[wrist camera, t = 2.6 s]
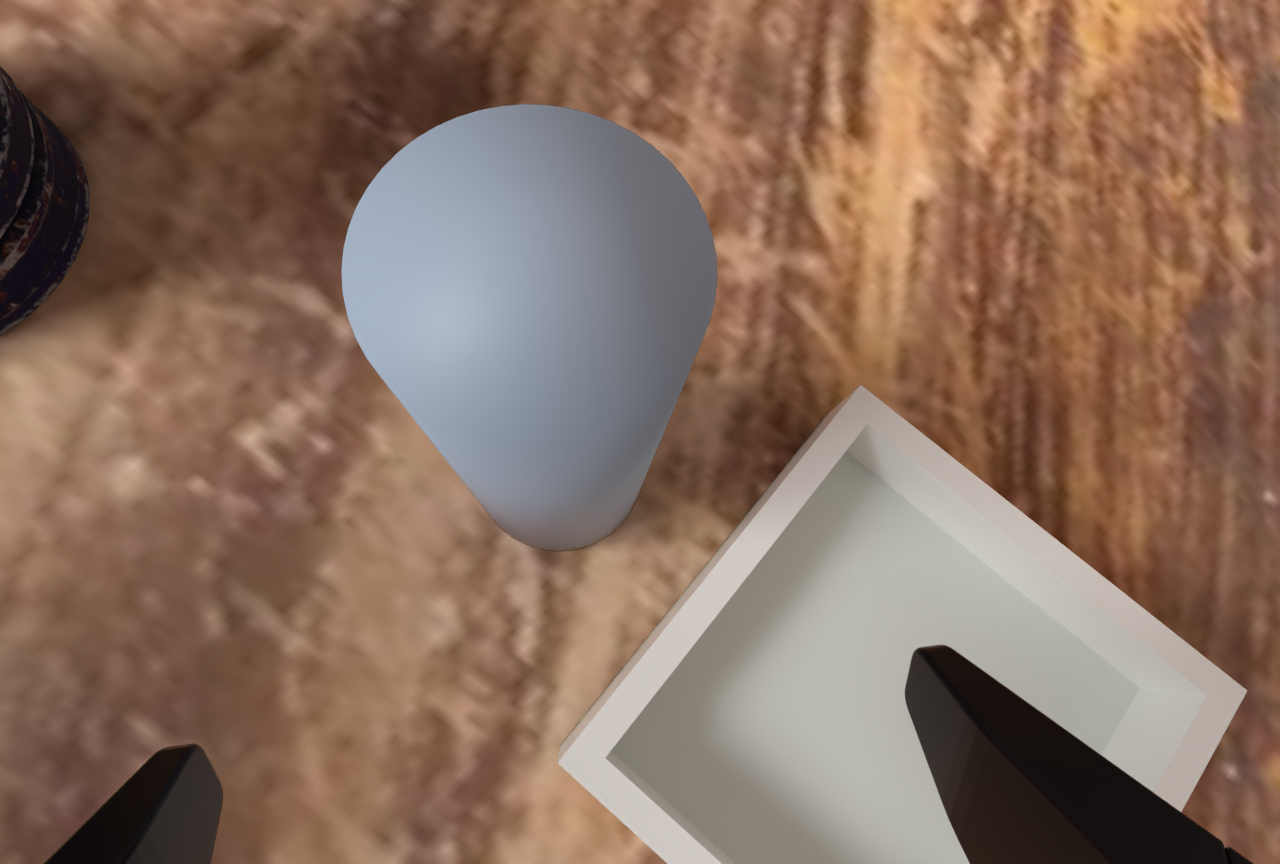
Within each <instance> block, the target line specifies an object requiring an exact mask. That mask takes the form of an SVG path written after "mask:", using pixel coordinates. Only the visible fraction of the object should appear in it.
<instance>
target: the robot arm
mask: <svg viewBox="0 0 1280 864" xmlns="http://www.w3.org/2000/svg"><path fill="white" fill-rule="evenodd" d="M905 701H906V705H907V709H908V711H909V714H910V717H911V720H912V722H913V725H914V728H915V730H916V733H917V736H918V739H919V741H920V744H921V747H922V750H923V752H924V755H925V758H926V760H927V763H928V766H929V769H930V771H931V774H932V777H933V779H934V782H935V785H936V788H937V790H938V793H939V796H940V799H941V801H942V804H943V806H944V809H945V811H946V814H947V816H948V819H949V821H950V823H951V826H952V828H953V830H954V832H955V834H956V837H957V839H958V841H959V843H960V845H961V847H962V849H963V851H964V853H965V855H966V857H967V859H968V861H969V863H970V864H1253V863H1252V862H1250V861H1249V860H1248V859H1246V858H1245V857H1243V856H1242V855H1241V854H1239V853H1238V852H1236V851H1235V850H1234V849H1232V848H1230V847H1224V844H1223V843H1222V841H1221V840H1219V839H1218V838H1216V837H1215V836H1214V835H1212V834H1211V833H1209V832H1208V831H1207V830H1205V829H1204V828H1202V827H1201V826H1200V825H1198V824H1197V823H1195V822H1194V821H1193V820H1191V819H1190V818H1188V817H1187V816H1186V815H1184V814H1183V813H1182V812H1180V811H1179V810H1177V809H1176V808H1175V807H1173V806H1172V805H1170V804H1169V803H1168V802H1166V801H1165V800H1163V799H1162V798H1161V797H1159V796H1158V795H1156V794H1155V793H1154V792H1152V791H1151V790H1149V789H1148V788H1147V787H1145V786H1144V785H1142V784H1141V783H1140V782H1138V781H1137V780H1135V779H1134V778H1133V777H1131V776H1130V775H1128V774H1127V773H1126V772H1124V771H1123V770H1121V769H1120V768H1119V767H1117V766H1116V765H1114V764H1113V763H1112V762H1110V761H1109V760H1107V759H1106V758H1105V757H1103V756H1102V755H1100V754H1099V753H1098V752H1096V751H1095V750H1094V749H1092V748H1091V747H1089V746H1088V745H1087V744H1085V743H1084V742H1082V741H1081V740H1080V739H1078V738H1077V737H1075V736H1074V735H1073V734H1071V733H1070V732H1068V731H1067V730H1066V729H1064V728H1063V727H1061V726H1060V725H1059V724H1057V723H1056V722H1054V721H1053V720H1052V719H1050V718H1049V717H1047V716H1046V715H1045V714H1043V713H1042V712H1040V711H1039V710H1038V709H1036V708H1035V707H1033V706H1032V705H1031V704H1029V703H1028V702H1026V701H1025V700H1024V699H1022V698H1021V697H1019V696H1018V695H1017V694H1015V693H1014V692H1013V691H1011V690H1010V689H1008V688H1007V687H1006V686H1004V685H1003V684H1001V683H1000V682H999V681H997V680H996V679H994V678H993V677H992V676H990V675H989V674H987V673H986V672H985V671H983V670H982V669H980V668H979V667H978V666H976V665H975V664H973V663H972V662H971V661H969V660H968V659H966V658H965V657H964V656H962V655H961V654H959V653H958V652H957V651H955V650H954V649H952V648H951V647H949V646H946V645H932V646H925V647H919V648H917V649H916V650H915V651H914V652H913V655H912V658H911V663H910V667H909V672H908V676H907V681H906V685H905ZM222 803H223V790H222V786H221V783H220V780H219V779H218V777H217V775H216V773H215V771H214V769H213V767H212V765H211V763H210V761H209V759H208V757H207V755H206V753H205V751H204V750H203V748H202V747H201V746H199V745H197V744H187V745H179V746H172V747H166V748H163V749H161V750H159V751H158V752H156V753H155V754H154V755H153V756H152V757H151V758H150V759H149V760H148V761H147V762H146V763H145V764H144V765H143V766H142V767H141V768H140V769H139V770H138V771H137V772H136V773H135V774H134V775H133V776H132V777H131V778H130V779H129V780H128V781H127V782H126V783H125V784H124V785H123V786H122V787H121V788H120V789H119V790H118V791H117V792H116V793H115V794H114V795H112V796H111V797H110V798H109V799H108V800H107V801H106V802H105V803H104V804H103V805H102V806H101V807H100V808H99V809H98V810H97V811H96V812H95V813H94V814H93V815H92V816H91V817H90V818H89V819H88V820H87V821H86V822H85V823H84V824H83V825H82V826H81V827H80V828H79V829H78V830H77V831H76V832H75V833H74V834H73V835H72V836H71V837H70V838H69V839H68V840H67V841H66V842H65V843H64V844H63V845H62V846H61V847H60V848H59V849H58V850H57V851H56V852H55V853H54V854H53V855H52V856H51V857H50V858H49V859H48V860H47V861H46V862H45V863H44V864H211V859H212V854H213V849H214V844H215V839H216V834H217V829H218V824H219V819H220V814H221V809H222Z"/></svg>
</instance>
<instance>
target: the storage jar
mask: <svg viewBox="0 0 1280 864" xmlns="http://www.w3.org/2000/svg"><path fill="white" fill-rule="evenodd" d="M88 217H89V189H88V183H87V176H86V173H85V170H84V168H83V165H82V162H81V160H80V157H79V155H78V153H77V152H76V150H75V149H74V147H73V145H72V144H71V142H70V140H69V139H68V138H67V137H66V136H65V135H64V134H63V132H62V131H61V130H60V129H59V128H58V127H57V126H56V125H55V124H54V123H53V122H52V121H51V120H50V119H49V118H48V117H47V116H46V115H45V114H44V113H43V112H41V111H40V110H39V109H37V108H36V107H35V106H33V105H32V103H31V102H30V101H29V100H28V99H27V98H26V97H25V96H24V95H23V94H22V92H21V91H20V90H19V89H18V88H17V86H16V85H15V83H14V81H13V80H12V78H11V77H10V76H9V75H8V74H7V73H6V72H5V71H4V70H3V69H2V68H1V67H0V335H1V334H3V333H5V332H6V331H8V330H9V329H10V328H12V327H13V326H15V325H16V324H18V323H19V322H21V321H22V320H23V319H25V318H26V317H27V316H28V315H30V314H31V313H32V312H33V311H34V310H35V309H36V308H37V307H38V306H39V305H41V304H42V303H43V302H44V301H45V300H46V299H47V298H48V297H49V295H50V294H51V293H52V292H53V291H54V289H55V288H56V287H57V286H58V285H59V283H60V282H61V281H62V280H63V278H64V276H65V275H66V273H67V272H68V270H69V268H70V267H71V265H72V263H73V262H74V260H75V258H76V256H77V253H78V251H79V248H80V246H81V244H82V241H83V239H84V235H85V231H86V226H87V222H88Z"/></svg>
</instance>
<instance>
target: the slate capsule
mask: <svg viewBox="0 0 1280 864" xmlns="http://www.w3.org/2000/svg"><path fill="white" fill-rule="evenodd" d="M341 271H342V289H343V297H344V302H345V306H346V311H347V316H348V319H349V321H350V324H351V327H352V330H353V332H354V335H355V338H356V340H357V341H358V343H359V345H360V347H361V349H362V350H363V352H364V354H365V356H366V358H367V359H368V361H369V362H370V363H371V365H372V366H373V367H374V369H375V370H376V371H377V373H378V374H379V375H380V377H381V378H382V379H383V381H384V382H385V383H386V384H387V386H388V387H389V388H390V389H391V391H392V392H393V393H394V395H395V396H396V397H397V398H398V400H399V401H400V402H401V403H402V405H403V406H404V407H405V409H406V410H407V411H408V412H409V414H410V415H411V416H412V417H413V419H414V420H415V421H416V422H417V424H418V425H419V426H420V428H421V429H422V430H423V431H424V433H425V434H426V435H427V436H428V438H429V439H430V440H431V442H432V443H433V444H434V445H435V447H436V448H437V449H438V450H439V452H440V453H441V454H442V456H443V457H444V458H445V459H446V461H447V462H448V463H449V464H450V466H451V467H452V468H453V470H454V471H455V472H456V473H457V475H458V476H459V477H460V478H461V480H462V481H463V482H464V484H465V485H466V486H467V487H468V489H469V490H470V491H471V492H472V494H473V495H474V496H475V498H476V499H477V500H478V501H479V503H480V504H481V505H482V506H483V508H484V509H485V510H486V512H487V513H488V514H489V515H490V517H491V518H492V519H493V520H494V522H495V523H496V524H497V525H498V526H499V527H500V528H501V529H502V530H503V531H504V532H506V533H507V534H508V535H510V536H511V537H512V538H514V539H516V540H517V541H519V542H521V543H523V544H526V545H528V546H531V547H534V548H538V549H542V550H549V551H568V550H575V549H579V548H583V547H586V546H589V545H591V544H593V543H596V542H598V541H599V540H601V539H603V538H604V537H606V536H608V535H609V534H610V533H611V532H613V531H614V530H615V529H616V528H617V527H618V526H619V525H620V524H621V523H622V522H623V521H624V519H625V518H626V517H627V515H628V514H629V513H630V511H631V509H632V507H633V505H634V504H635V501H636V499H637V497H638V494H639V492H640V489H641V487H642V484H643V482H644V480H645V477H646V475H647V472H648V470H649V468H650V465H651V463H652V460H653V458H654V456H655V453H656V451H657V448H658V446H659V443H660V441H661V439H662V436H663V434H664V431H665V429H666V427H667V424H668V422H669V419H670V417H671V415H672V412H673V410H674V407H675V405H676V402H677V400H678V398H679V395H680V393H681V390H682V388H683V386H684V383H685V381H686V378H687V376H688V374H689V371H690V369H691V366H692V364H693V361H694V359H695V357H696V354H697V352H698V349H699V347H700V345H701V342H702V340H703V337H704V335H705V332H706V330H707V327H708V325H709V322H710V319H711V315H712V311H713V306H714V302H715V297H716V286H717V261H716V252H715V247H714V242H713V236H712V233H711V230H710V227H709V224H708V221H707V218H706V215H705V213H704V211H703V209H702V207H701V205H700V203H699V201H698V199H697V197H696V195H695V193H694V192H693V190H692V189H691V187H690V186H689V184H688V183H687V181H686V180H685V178H684V177H683V176H682V175H681V173H680V172H679V171H678V170H677V169H676V168H675V167H674V166H673V164H672V163H671V162H670V161H669V160H668V159H667V158H666V157H665V156H663V155H662V154H661V153H660V152H659V151H658V150H657V149H655V148H654V147H653V146H652V145H651V144H649V143H648V142H646V141H645V140H643V139H642V138H640V137H639V136H638V135H636V134H635V133H633V132H631V131H629V130H627V129H625V128H623V127H622V126H620V125H618V124H616V123H614V122H611V121H609V120H606V119H604V118H601V117H599V116H596V115H593V114H590V113H586V112H582V111H579V110H575V109H571V108H564V107H558V106H551V105H532V104H521V105H508V106H499V107H494V108H489V109H483V110H478V111H475V112H472V113H469V114H466V115H462V116H459V117H456V118H454V119H452V120H449V121H447V122H445V123H443V124H440V125H438V126H436V127H434V128H433V129H431V130H429V131H427V132H426V133H424V134H422V135H421V136H419V137H417V138H416V139H415V140H413V141H412V142H411V143H409V144H408V145H407V146H405V147H404V148H403V149H402V150H400V151H399V152H398V153H397V154H396V155H395V156H394V157H393V158H392V159H391V160H390V161H389V162H388V163H387V164H386V165H385V166H384V167H383V168H382V169H381V170H380V172H379V173H378V174H377V175H376V177H375V178H374V179H373V181H372V182H371V183H370V185H369V186H368V188H367V189H366V191H365V193H364V195H363V196H362V198H361V200H360V201H359V203H358V205H357V207H356V210H355V212H354V215H353V217H352V220H351V222H350V225H349V228H348V232H347V236H346V240H345V244H344V249H343V260H342V270H341Z"/></svg>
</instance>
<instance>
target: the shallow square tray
mask: <svg viewBox="0 0 1280 864" xmlns="http://www.w3.org/2000/svg"><path fill="white" fill-rule="evenodd" d="M932 645H946V646H949V647H951V648H952V649H954V650H955V651H957V652H958V653H959V654H961V655H962V656H964V657H965V658H966V659H968V660H969V661H971V662H972V663H973V664H975V665H976V666H978V667H979V668H980V669H982V670H983V671H985V672H986V673H987V674H989V675H990V676H992V677H993V678H994V679H996V680H997V681H999V682H1000V683H1001V684H1003V685H1004V686H1006V687H1007V688H1008V689H1010V690H1011V691H1013V692H1014V693H1015V694H1017V695H1018V696H1019V697H1021V698H1022V699H1024V700H1025V701H1026V702H1028V703H1029V704H1031V705H1032V706H1033V707H1035V708H1036V709H1038V710H1039V711H1040V712H1042V713H1043V714H1045V715H1046V716H1047V717H1049V718H1050V719H1052V720H1053V721H1054V722H1056V723H1057V724H1059V725H1060V726H1061V727H1063V728H1064V729H1066V730H1067V731H1068V732H1070V733H1071V734H1073V735H1074V736H1075V737H1077V738H1078V739H1080V740H1081V741H1082V742H1084V743H1085V744H1087V745H1088V746H1089V747H1091V748H1092V749H1094V750H1095V751H1096V752H1098V753H1099V754H1100V755H1102V756H1103V757H1105V758H1106V759H1107V760H1109V761H1110V762H1112V763H1113V764H1114V765H1116V766H1117V767H1119V768H1120V769H1121V770H1123V771H1124V772H1126V773H1127V774H1128V775H1130V776H1131V777H1133V778H1134V779H1135V780H1137V781H1138V782H1140V783H1141V784H1142V785H1144V786H1145V787H1147V788H1148V789H1149V790H1151V791H1152V792H1154V793H1155V794H1156V795H1158V796H1159V797H1161V798H1162V799H1163V800H1165V801H1166V802H1168V803H1169V804H1170V805H1172V806H1173V807H1175V808H1176V809H1177V810H1179V811H1180V812H1182V810H1183V808H1184V806H1185V804H1186V803H1187V801H1188V799H1189V797H1190V795H1191V793H1192V792H1193V790H1194V788H1195V786H1196V784H1197V782H1198V781H1199V779H1200V777H1201V775H1202V773H1203V771H1204V770H1205V768H1206V766H1207V764H1208V762H1209V760H1210V759H1211V757H1212V755H1213V753H1214V751H1215V749H1216V748H1217V746H1218V744H1219V742H1220V740H1221V738H1222V737H1223V735H1224V733H1225V731H1226V729H1227V727H1228V726H1229V724H1230V722H1231V720H1232V718H1233V716H1234V715H1235V713H1236V711H1237V709H1238V707H1239V705H1240V704H1241V702H1242V700H1243V698H1244V696H1245V694H1246V693H1247V690H1246V689H1245V688H1243V687H1242V686H1241V685H1240V684H1238V683H1237V682H1236V681H1235V680H1233V679H1232V678H1231V677H1229V676H1228V675H1227V674H1226V673H1224V672H1223V671H1222V670H1221V669H1219V668H1218V667H1217V666H1216V665H1214V664H1213V663H1212V662H1211V661H1209V660H1208V659H1207V658H1205V657H1204V656H1203V655H1202V654H1200V653H1199V652H1198V651H1197V650H1195V649H1194V648H1193V647H1192V646H1190V645H1189V644H1188V643H1187V642H1185V641H1184V640H1183V639H1181V638H1180V637H1179V636H1178V635H1176V634H1175V633H1174V632H1173V631H1171V630H1170V629H1169V628H1168V627H1166V626H1165V625H1164V624H1163V623H1161V622H1160V621H1159V620H1157V619H1156V618H1155V617H1154V616H1152V615H1151V614H1150V613H1149V612H1147V611H1146V610H1145V609H1144V608H1142V607H1141V606H1140V605H1139V604H1137V603H1136V602H1135V601H1133V600H1132V599H1131V598H1130V597H1128V596H1127V595H1126V594H1125V593H1123V592H1122V591H1121V590H1120V589H1118V588H1117V587H1116V586H1115V585H1113V584H1112V583H1111V582H1109V581H1108V580H1107V579H1106V578H1104V577H1103V576H1102V575H1101V574H1099V573H1098V572H1097V571H1096V570H1094V569H1093V568H1092V567H1091V566H1089V565H1088V564H1087V563H1085V562H1084V561H1083V560H1082V559H1080V558H1079V557H1078V556H1077V555H1075V554H1074V553H1073V552H1072V551H1070V550H1069V549H1068V548H1067V547H1065V546H1064V545H1063V544H1061V543H1060V542H1059V541H1058V540H1056V539H1055V538H1054V537H1053V536H1051V535H1050V534H1049V533H1048V532H1046V531H1045V530H1044V529H1043V528H1041V527H1040V526H1039V525H1037V524H1036V523H1035V522H1034V521H1032V520H1031V519H1030V518H1029V517H1027V516H1026V515H1025V514H1024V513H1022V512H1021V511H1020V510H1019V509H1017V508H1016V507H1015V506H1013V505H1012V504H1011V503H1010V502H1008V501H1007V500H1006V499H1005V498H1003V497H1002V496H1001V495H1000V494H998V493H997V492H996V491H995V490H993V489H992V488H991V487H989V486H988V485H987V484H986V483H984V482H983V481H982V480H981V479H979V478H978V477H977V476H976V475H974V474H973V473H972V472H971V471H969V470H968V469H967V468H965V467H964V466H963V465H962V464H960V463H959V462H958V461H957V460H955V459H954V458H953V457H952V456H950V455H949V454H948V453H947V452H945V451H944V450H943V449H941V448H940V447H939V446H938V445H936V444H935V443H934V442H933V441H931V440H930V439H929V438H928V437H926V436H925V435H924V434H923V433H921V432H920V431H919V430H917V429H916V428H915V427H914V426H912V425H911V424H910V423H909V422H907V421H906V420H905V419H904V418H902V417H901V416H900V415H899V414H897V413H896V412H895V411H893V410H892V409H891V408H890V407H888V406H887V405H886V404H885V403H883V402H882V401H881V400H880V399H878V398H877V397H876V396H875V395H873V394H872V393H871V392H869V391H868V390H867V389H866V388H864V387H863V386H862V385H860V386H859V387H857V388H856V389H855V390H854V391H853V392H852V393H851V394H850V395H848V396H847V397H846V398H845V399H844V400H843V401H842V402H841V403H839V404H838V405H837V406H836V407H835V408H834V409H833V410H832V411H830V412H829V413H828V414H827V415H826V416H825V417H824V419H823V420H822V421H821V422H820V424H819V425H818V426H817V427H816V429H815V430H814V431H813V432H812V434H811V435H810V436H809V437H808V439H807V440H806V441H805V442H804V444H803V445H802V446H801V447H800V449H799V450H798V451H797V452H796V453H795V455H794V456H793V457H792V458H791V460H790V461H789V462H788V463H787V465H786V466H785V467H784V468H783V470H782V471H781V472H780V473H779V475H778V476H777V477H776V478H775V480H774V481H773V482H772V483H771V484H770V486H769V487H768V488H767V489H766V491H765V492H764V493H763V494H762V496H761V497H760V498H759V499H758V501H757V502H756V503H755V504H754V506H753V507H752V508H751V509H750V511H749V512H748V513H747V514H746V515H745V517H744V518H743V519H742V520H741V522H740V523H739V524H738V525H737V527H736V528H735V529H734V530H733V532H732V533H731V534H730V535H729V537H728V538H727V539H726V540H725V542H724V543H723V544H722V545H721V547H720V548H719V549H718V550H717V551H716V553H715V554H714V555H713V556H712V558H711V559H710V560H709V561H708V563H707V564H706V565H705V566H704V568H703V569H702V570H701V571H700V573H699V574H698V575H697V576H696V578H695V579H694V580H693V581H692V582H691V584H690V585H689V586H688V587H687V589H686V590H685V591H684V592H683V594H682V595H681V596H680V597H679V599H678V600H677V601H676V602H675V604H674V605H673V606H672V607H671V609H670V610H669V611H668V612H667V613H666V615H665V616H664V617H663V618H662V620H661V621H660V622H659V623H658V625H657V626H656V627H655V628H654V630H653V631H652V632H651V633H650V635H649V636H648V637H647V638H646V640H645V641H644V642H643V643H642V644H641V646H640V647H639V648H638V649H637V651H636V652H635V653H634V654H633V656H632V657H631V658H630V659H629V661H628V662H627V663H626V664H625V666H624V667H623V668H622V669H621V671H620V672H619V673H618V674H617V676H616V677H615V678H614V679H613V680H612V682H611V683H610V684H609V685H608V687H607V688H606V689H605V690H604V692H603V693H602V694H601V695H600V697H599V698H598V699H597V700H596V702H595V703H594V704H593V705H592V707H591V708H590V709H589V710H588V711H587V713H586V714H585V715H584V716H583V718H582V719H581V720H580V721H579V723H578V724H577V725H576V726H575V728H574V729H573V730H572V731H571V733H570V734H569V735H568V736H567V738H566V739H565V740H564V741H563V742H562V744H561V747H560V752H559V757H558V764H559V765H560V766H561V767H562V768H563V769H565V770H566V771H567V772H568V773H569V774H570V775H571V776H572V777H573V778H574V779H576V780H577V781H578V782H579V783H580V784H581V785H582V786H583V787H584V788H585V789H586V790H588V791H589V792H590V793H591V794H592V795H593V796H594V797H595V798H596V799H597V800H598V801H600V802H601V803H602V804H603V805H604V806H605V807H606V808H607V809H608V810H609V811H610V812H612V813H613V814H614V815H615V816H616V817H617V818H618V819H619V820H620V821H621V822H623V823H624V824H625V825H626V826H627V827H628V828H629V829H630V830H631V831H632V832H633V833H635V834H636V835H637V836H638V837H639V838H640V839H641V840H642V841H643V842H644V843H645V844H647V845H648V846H649V847H650V848H651V849H652V850H653V851H654V852H655V853H656V854H657V855H659V856H660V857H661V858H662V859H663V860H664V861H665V862H666V863H667V864H970V863H969V861H968V859H967V857H966V855H965V853H964V851H963V849H962V847H961V845H960V843H959V841H958V839H957V837H956V834H955V832H954V830H953V828H952V826H951V823H950V821H949V819H948V816H947V814H946V811H945V809H944V806H943V804H942V801H941V799H940V796H939V793H938V790H937V788H936V785H935V782H934V779H933V777H932V774H931V771H930V769H929V766H928V763H927V760H926V758H925V755H924V752H923V750H922V747H921V744H920V741H919V739H918V736H917V733H916V730H915V728H914V725H913V722H912V720H911V717H910V714H909V711H908V709H907V705H906V701H905V685H906V681H907V676H908V672H909V667H910V663H911V658H912V655H913V652H914V651H915V650H916V649H917V648H919V647H925V646H932Z"/></svg>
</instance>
